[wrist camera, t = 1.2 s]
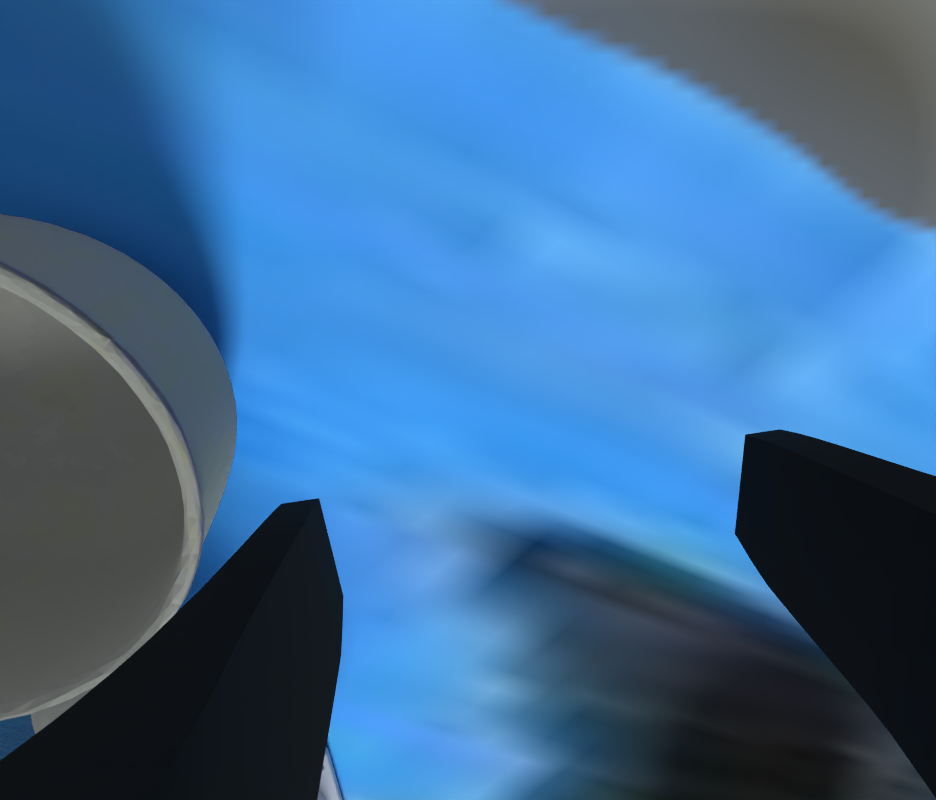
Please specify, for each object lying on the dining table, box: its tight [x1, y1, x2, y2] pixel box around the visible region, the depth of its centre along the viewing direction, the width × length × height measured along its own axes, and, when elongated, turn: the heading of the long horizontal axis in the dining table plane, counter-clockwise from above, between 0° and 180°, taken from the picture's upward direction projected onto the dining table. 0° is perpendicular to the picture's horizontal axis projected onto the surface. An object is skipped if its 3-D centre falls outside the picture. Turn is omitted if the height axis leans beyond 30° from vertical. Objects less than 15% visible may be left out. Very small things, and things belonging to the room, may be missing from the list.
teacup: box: [0, 214, 237, 734], centre depth 14 cm, size 14×11×8 cm
